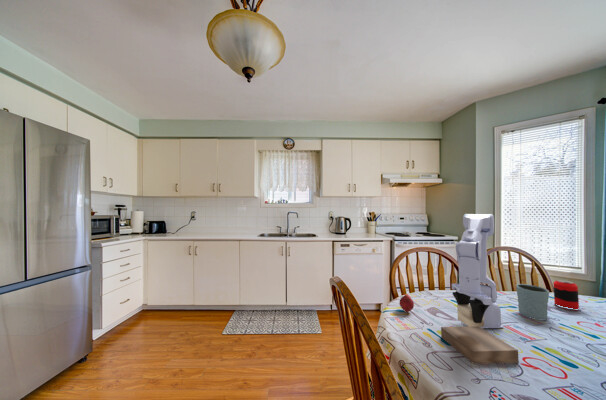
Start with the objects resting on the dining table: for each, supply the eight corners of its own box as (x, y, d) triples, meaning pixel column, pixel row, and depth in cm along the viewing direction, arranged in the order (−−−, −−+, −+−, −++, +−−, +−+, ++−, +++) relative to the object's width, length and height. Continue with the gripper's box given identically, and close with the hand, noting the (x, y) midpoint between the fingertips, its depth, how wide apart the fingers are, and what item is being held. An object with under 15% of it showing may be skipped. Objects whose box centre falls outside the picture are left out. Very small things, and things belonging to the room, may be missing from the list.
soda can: (558, 308, 105) (557, 282, 105) (551, 302, 111) (550, 278, 112) (582, 312, 101) (581, 285, 101) (574, 306, 107) (572, 280, 108)
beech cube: (471, 319, 77) (471, 304, 77) (484, 326, 72) (483, 310, 72) (457, 319, 77) (457, 304, 77) (469, 326, 72) (468, 310, 72)
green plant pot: (523, 309, 103) (522, 282, 104) (555, 318, 94) (553, 289, 95) (512, 313, 99) (511, 285, 100) (544, 323, 90) (543, 293, 91)
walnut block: (478, 337, 80) (478, 326, 80) (518, 364, 66) (518, 350, 66) (441, 338, 79) (441, 326, 79) (473, 365, 65) (473, 351, 65)
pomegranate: (415, 315, 95) (415, 296, 96) (401, 314, 97) (401, 295, 97) (411, 310, 101) (411, 292, 102) (398, 308, 102) (398, 291, 103)
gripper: (443, 271, 82) (444, 309, 81) (475, 283, 68) (477, 329, 67) (461, 271, 83) (462, 308, 82) (497, 283, 68) (499, 329, 67)
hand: (470, 318), depth 74 cm, fingers closed on beech cube, 5 cm apart
